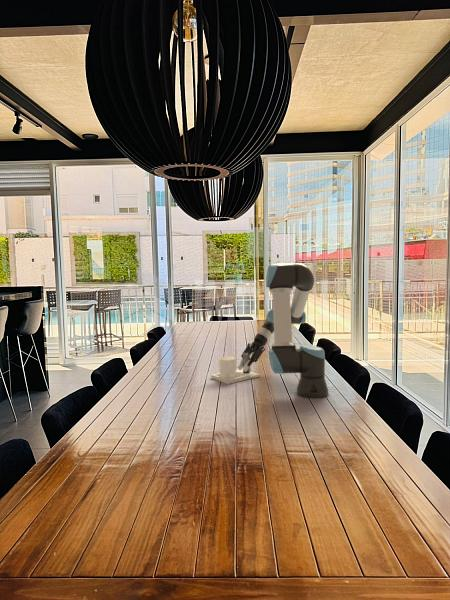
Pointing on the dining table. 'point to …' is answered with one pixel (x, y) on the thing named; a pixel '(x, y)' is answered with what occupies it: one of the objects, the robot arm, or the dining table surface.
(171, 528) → the dining table surface
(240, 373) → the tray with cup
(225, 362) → the candle holder
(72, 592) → the dining table surface
